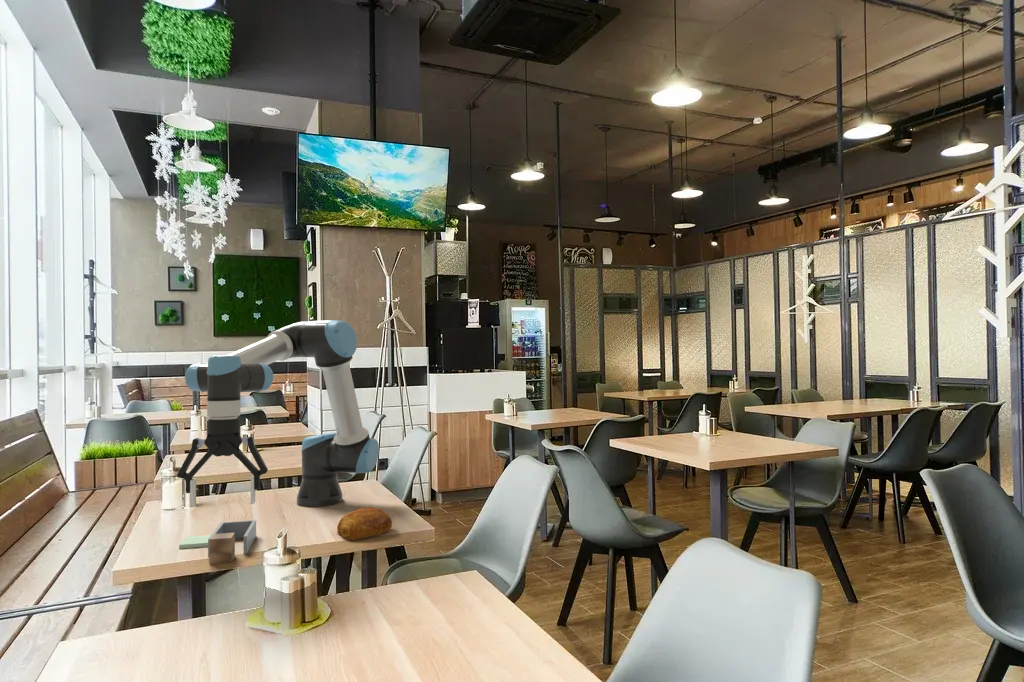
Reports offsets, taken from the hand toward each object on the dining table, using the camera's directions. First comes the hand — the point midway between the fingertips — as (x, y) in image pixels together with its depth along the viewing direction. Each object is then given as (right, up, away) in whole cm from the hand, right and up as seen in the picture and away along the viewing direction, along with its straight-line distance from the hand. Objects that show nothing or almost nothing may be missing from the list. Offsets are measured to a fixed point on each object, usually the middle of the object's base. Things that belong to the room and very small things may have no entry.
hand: (223, 504), depth 159 cm
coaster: (-14, -14, +16) cm, 25 cm away
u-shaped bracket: (-3, -14, +13) cm, 20 cm away
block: (-1, -14, +1) cm, 14 cm away
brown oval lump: (+29, -15, +25) cm, 41 cm away
